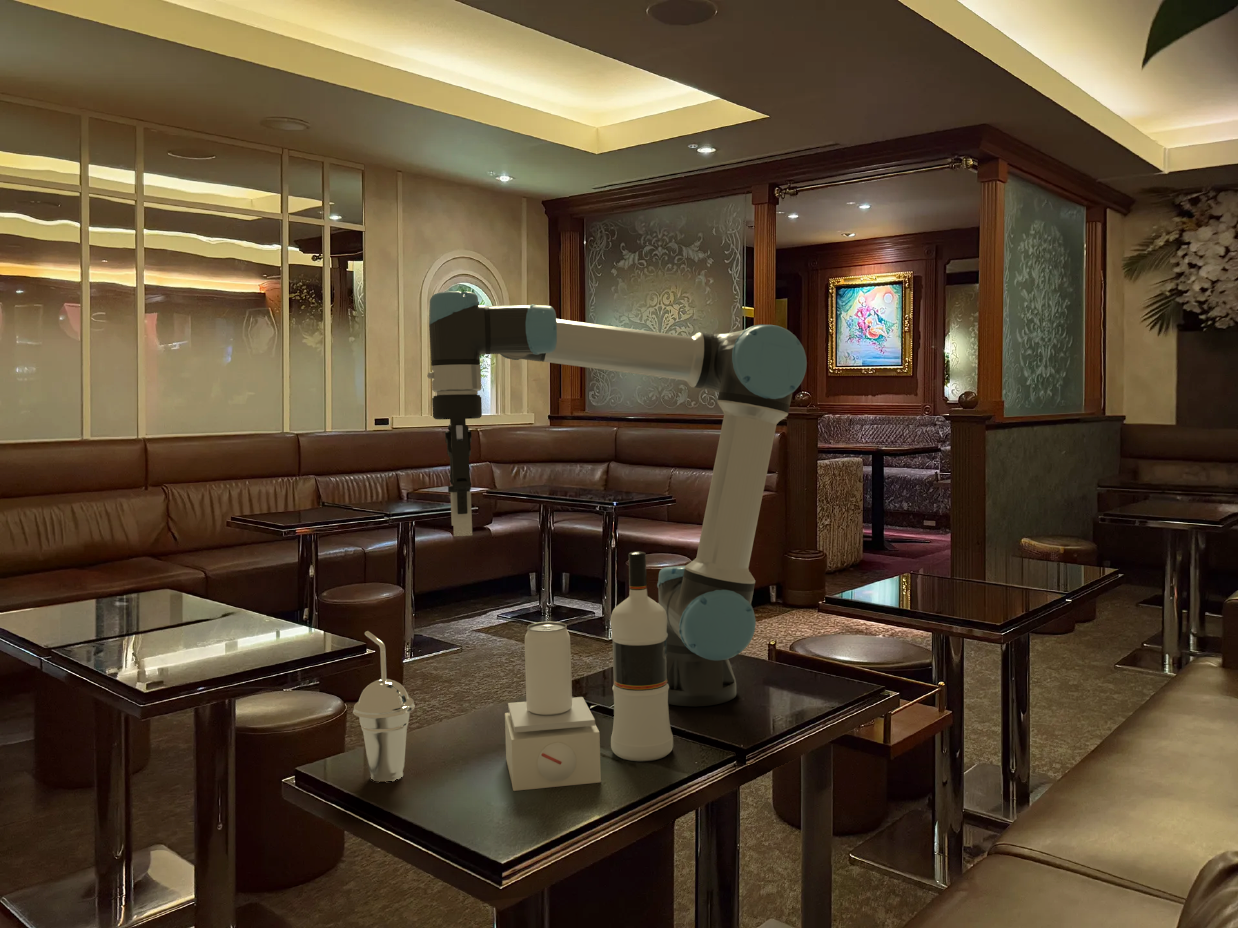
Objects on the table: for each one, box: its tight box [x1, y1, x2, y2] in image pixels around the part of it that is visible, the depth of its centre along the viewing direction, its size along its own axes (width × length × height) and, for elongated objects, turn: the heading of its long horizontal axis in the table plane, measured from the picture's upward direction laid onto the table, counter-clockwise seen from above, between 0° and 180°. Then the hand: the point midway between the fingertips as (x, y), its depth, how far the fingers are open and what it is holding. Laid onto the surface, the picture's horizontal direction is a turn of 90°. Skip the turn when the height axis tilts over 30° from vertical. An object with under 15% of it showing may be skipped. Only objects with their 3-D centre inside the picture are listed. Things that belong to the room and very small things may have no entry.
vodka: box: [610, 550, 674, 763], centre depth 145 cm, size 9×9×30 cm
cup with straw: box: [352, 630, 416, 783], centre depth 139 cm, size 8×9×20 cm
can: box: [524, 621, 573, 716], centre depth 139 cm, size 6×6×12 cm
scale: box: [504, 696, 602, 792], centre depth 139 cm, size 12×13×9 cm
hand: (461, 530), depth 153 cm, fingers open, 13 cm apart
